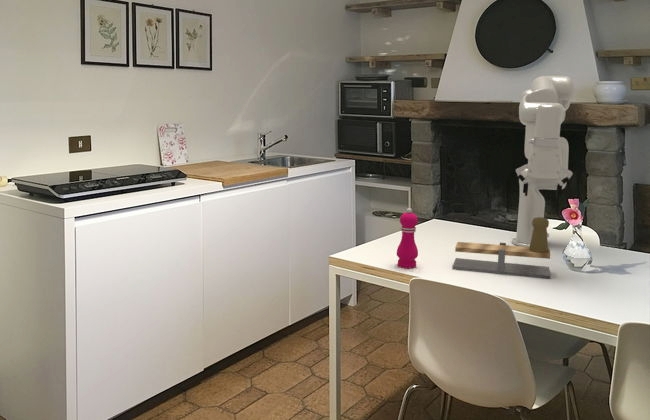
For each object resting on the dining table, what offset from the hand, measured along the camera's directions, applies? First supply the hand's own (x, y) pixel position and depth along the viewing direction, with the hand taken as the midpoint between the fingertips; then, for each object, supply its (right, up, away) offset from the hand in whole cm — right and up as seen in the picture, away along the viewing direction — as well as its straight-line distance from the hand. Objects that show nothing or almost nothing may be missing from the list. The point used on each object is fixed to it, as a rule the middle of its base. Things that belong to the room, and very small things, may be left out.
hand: (541, 196), depth 200 cm
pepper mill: (-42, -24, +10) cm, 50 cm away
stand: (-11, -24, +8) cm, 28 cm away
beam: (-11, -19, +7) cm, 23 cm away
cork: (0, -18, +3) cm, 18 cm away
